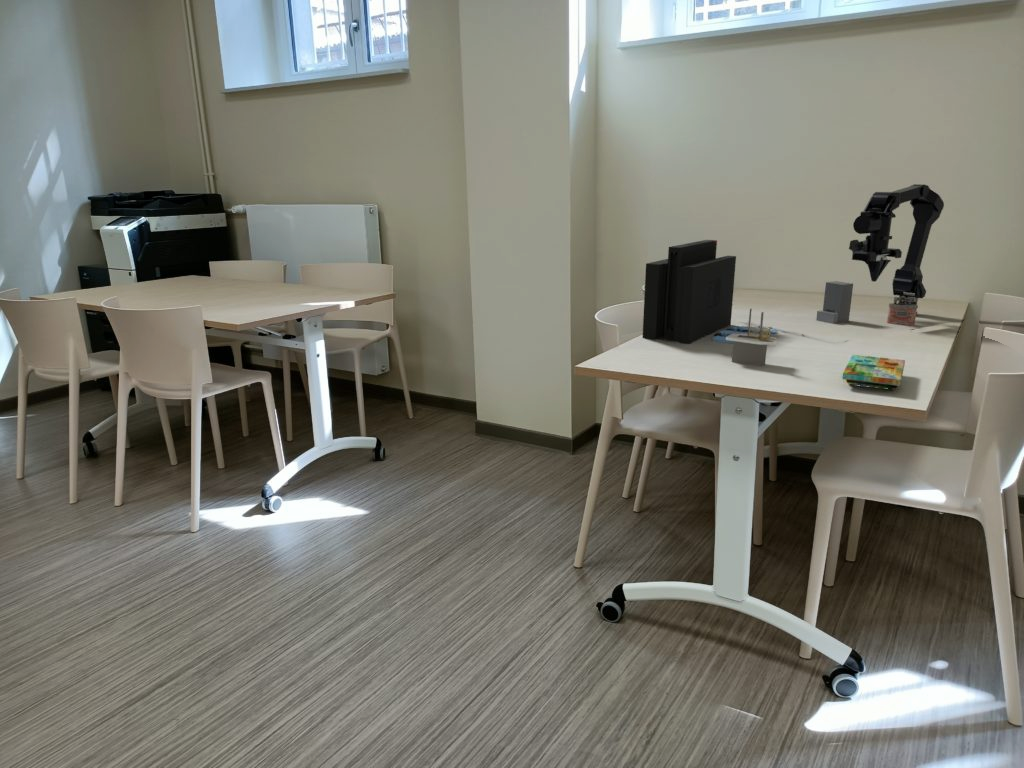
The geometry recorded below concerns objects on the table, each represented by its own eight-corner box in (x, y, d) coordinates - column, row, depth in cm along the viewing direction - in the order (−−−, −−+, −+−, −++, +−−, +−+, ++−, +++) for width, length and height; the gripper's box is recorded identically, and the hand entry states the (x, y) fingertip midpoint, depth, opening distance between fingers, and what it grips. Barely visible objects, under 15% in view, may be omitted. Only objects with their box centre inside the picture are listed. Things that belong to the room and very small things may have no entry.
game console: (688, 319, 250) (694, 238, 243) (781, 330, 234) (789, 243, 226) (642, 338, 223) (646, 246, 215) (743, 351, 206) (751, 252, 199)
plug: (832, 318, 245) (836, 281, 242) (848, 321, 240) (853, 283, 236) (821, 319, 242) (825, 282, 239) (838, 322, 237) (842, 284, 234)
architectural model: (713, 350, 209) (717, 300, 205) (808, 362, 196) (814, 308, 193) (688, 366, 192) (692, 312, 188) (790, 380, 179) (797, 322, 175)
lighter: (885, 327, 237) (889, 296, 234) (886, 326, 239) (890, 294, 237) (914, 330, 233) (919, 298, 230) (914, 328, 236) (919, 296, 233)
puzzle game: (905, 356, 181) (901, 376, 164) (902, 375, 182) (898, 396, 166) (852, 351, 187) (843, 369, 170) (850, 370, 188) (840, 389, 171)
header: (833, 318, 245) (834, 308, 244) (850, 321, 240) (851, 311, 239) (816, 320, 241) (817, 311, 241) (833, 324, 236) (834, 314, 235)
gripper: (873, 229, 252) (867, 276, 256) (839, 232, 242) (834, 280, 246) (905, 231, 243) (899, 280, 247) (872, 234, 233) (865, 284, 238)
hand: (873, 281), depth 245 cm, fingers closed
